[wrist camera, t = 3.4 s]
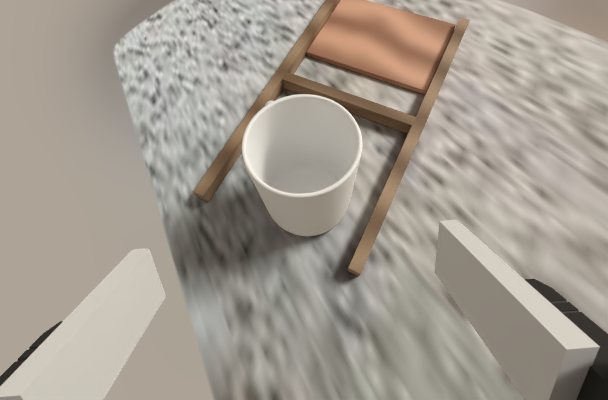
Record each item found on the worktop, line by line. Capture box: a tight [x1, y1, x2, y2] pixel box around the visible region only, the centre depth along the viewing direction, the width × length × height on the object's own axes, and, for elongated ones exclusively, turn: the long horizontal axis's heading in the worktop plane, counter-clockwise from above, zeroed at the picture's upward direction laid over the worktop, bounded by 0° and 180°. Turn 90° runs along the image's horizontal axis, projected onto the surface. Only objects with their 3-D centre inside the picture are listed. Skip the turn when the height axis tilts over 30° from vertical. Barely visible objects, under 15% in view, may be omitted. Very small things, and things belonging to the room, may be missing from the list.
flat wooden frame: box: [193, 0, 470, 276], centre depth 34 cm, size 35×18×2 cm, turn 153°
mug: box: [242, 94, 362, 236], centre depth 26 cm, size 9×12×11 cm
